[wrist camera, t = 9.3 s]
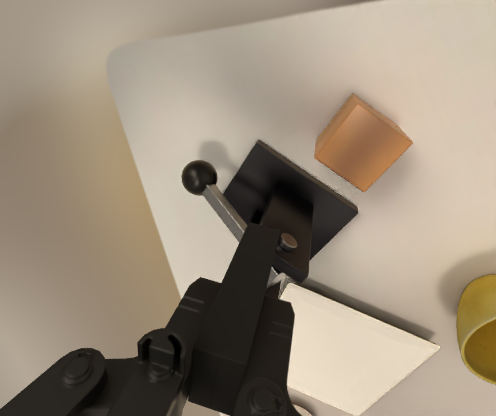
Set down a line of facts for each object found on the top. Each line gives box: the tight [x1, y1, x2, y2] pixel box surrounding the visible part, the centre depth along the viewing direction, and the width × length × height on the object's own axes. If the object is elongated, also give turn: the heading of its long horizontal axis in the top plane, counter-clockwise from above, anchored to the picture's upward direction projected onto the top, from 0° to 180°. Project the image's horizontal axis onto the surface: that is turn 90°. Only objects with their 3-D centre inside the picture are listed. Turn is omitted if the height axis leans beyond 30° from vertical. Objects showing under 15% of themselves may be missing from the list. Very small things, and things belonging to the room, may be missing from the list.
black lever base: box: [223, 140, 358, 299], centre depth 27 cm, size 12×9×12 cm
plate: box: [280, 283, 440, 416], centre depth 39 cm, size 19×19×2 cm
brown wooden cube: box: [314, 94, 413, 192], centre depth 24 cm, size 5×5×5 cm
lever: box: [182, 160, 286, 289], centre depth 25 cm, size 13×3×3 cm
